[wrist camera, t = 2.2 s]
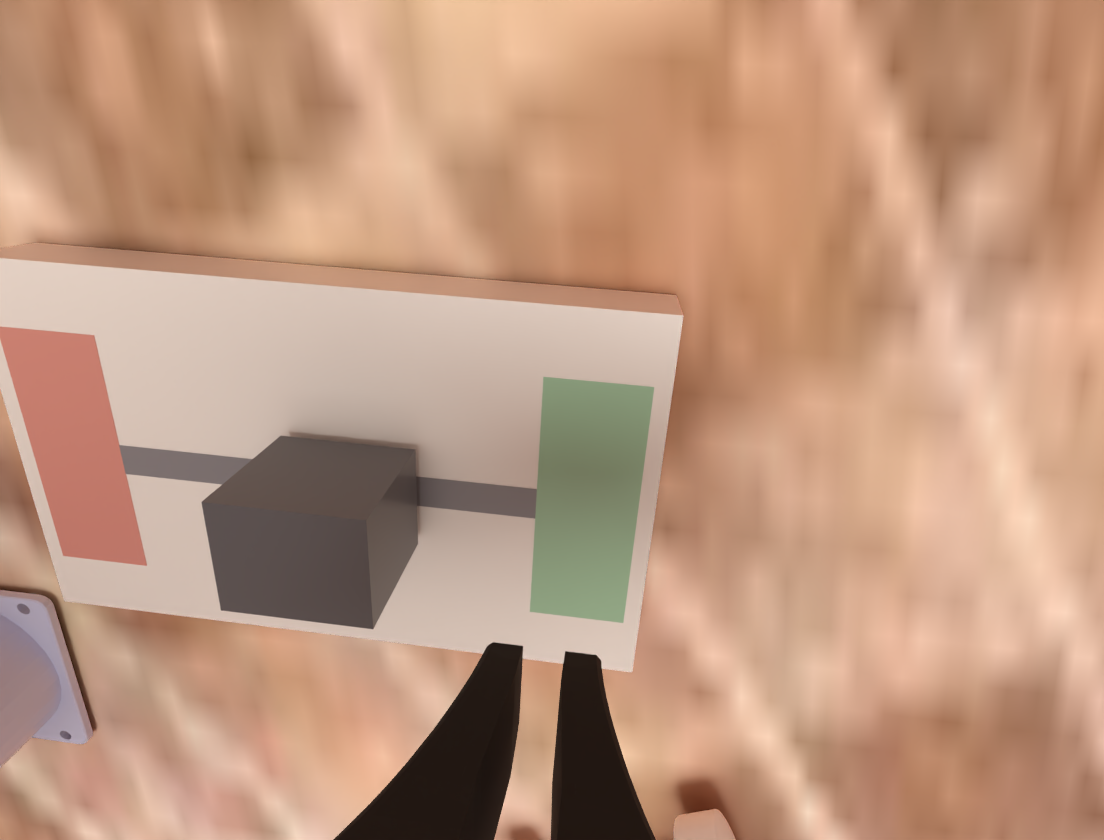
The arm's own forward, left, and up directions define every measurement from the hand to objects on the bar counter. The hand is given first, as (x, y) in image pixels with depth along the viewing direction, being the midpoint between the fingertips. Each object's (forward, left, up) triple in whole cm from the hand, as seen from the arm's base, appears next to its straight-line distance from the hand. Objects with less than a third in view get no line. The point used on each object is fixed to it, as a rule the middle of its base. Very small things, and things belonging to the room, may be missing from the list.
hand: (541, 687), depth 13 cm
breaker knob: (-7, 0, -6) cm, 9 cm away
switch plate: (-8, 0, -9) cm, 12 cm away
